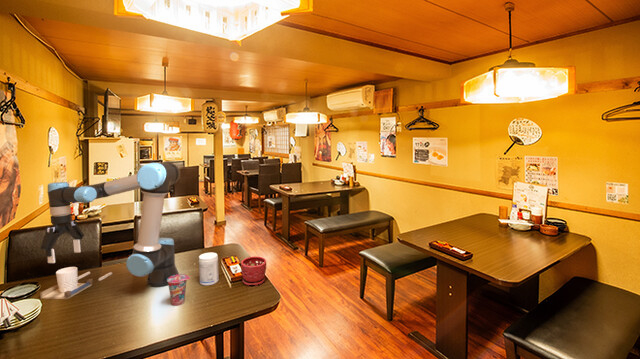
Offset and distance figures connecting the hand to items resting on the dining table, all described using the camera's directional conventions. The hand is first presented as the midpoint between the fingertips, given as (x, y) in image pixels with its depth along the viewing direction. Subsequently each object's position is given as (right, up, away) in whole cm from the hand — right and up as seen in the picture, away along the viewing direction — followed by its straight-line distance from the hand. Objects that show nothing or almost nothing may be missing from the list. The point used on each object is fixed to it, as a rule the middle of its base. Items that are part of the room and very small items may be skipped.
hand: (65, 257), depth 139 cm
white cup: (0, -17, +2) cm, 17 cm away
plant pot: (+89, -17, +14) cm, 92 cm away
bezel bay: (0, -17, +2) cm, 17 cm away
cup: (+59, -19, -7) cm, 63 cm away
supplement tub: (+65, -17, +14) cm, 69 cm away
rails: (0, -16, +18) cm, 24 cm away
